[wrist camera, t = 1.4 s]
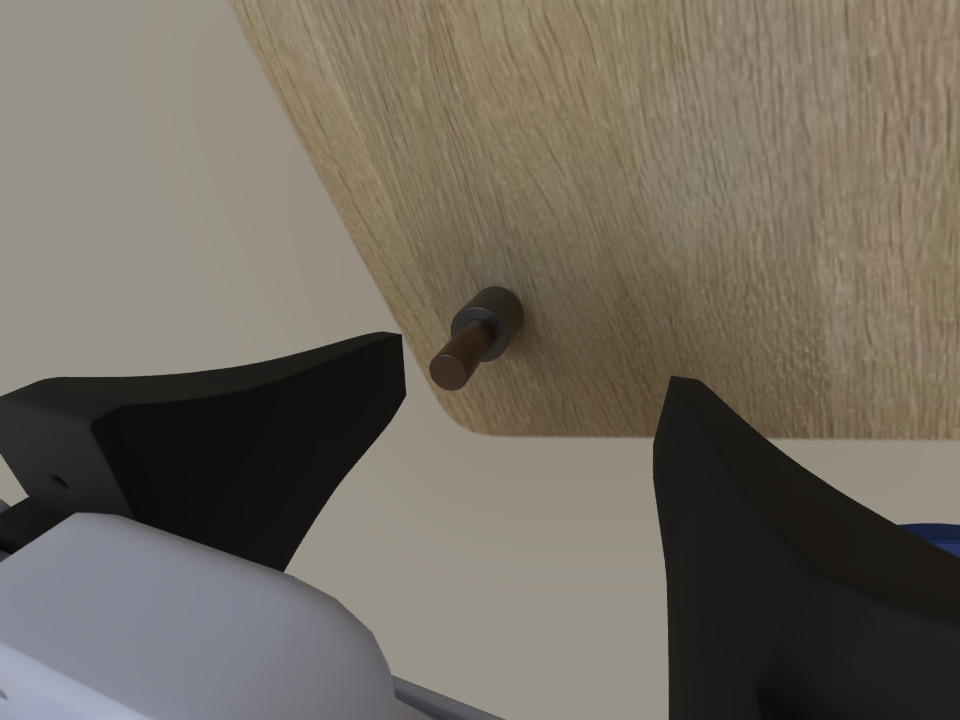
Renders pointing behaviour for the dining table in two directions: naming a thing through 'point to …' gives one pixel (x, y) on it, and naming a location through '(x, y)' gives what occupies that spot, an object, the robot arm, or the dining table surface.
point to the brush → (477, 336)
